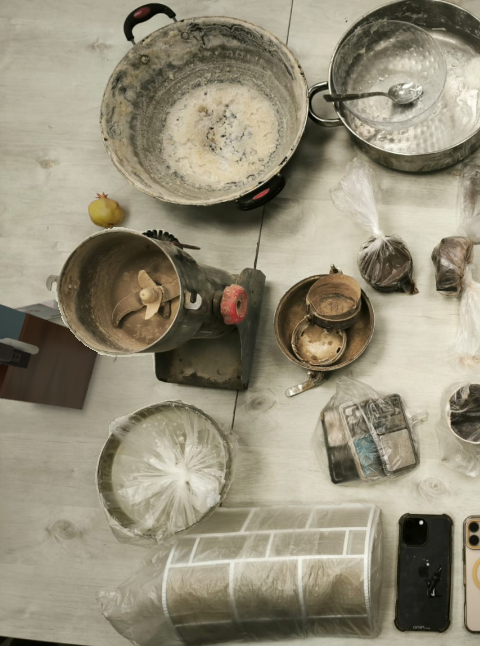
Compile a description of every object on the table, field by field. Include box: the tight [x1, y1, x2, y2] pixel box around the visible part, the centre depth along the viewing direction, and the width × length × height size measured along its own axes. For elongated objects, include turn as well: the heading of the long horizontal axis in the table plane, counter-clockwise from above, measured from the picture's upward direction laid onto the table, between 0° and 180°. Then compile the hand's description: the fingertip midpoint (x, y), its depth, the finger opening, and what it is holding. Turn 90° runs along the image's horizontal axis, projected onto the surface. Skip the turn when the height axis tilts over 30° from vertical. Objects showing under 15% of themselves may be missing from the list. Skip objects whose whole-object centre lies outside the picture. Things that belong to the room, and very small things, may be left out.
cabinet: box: [0, 312, 99, 410], centre depth 105 cm, size 10×16×34 cm, turn 173°
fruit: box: [87, 191, 124, 230], centre depth 126 cm, size 7×7×10 cm
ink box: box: [14, 299, 63, 320], centre depth 119 cm, size 2×11×10 cm, turn 104°
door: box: [0, 303, 39, 354], centre depth 95 cm, size 6×8×9 cm
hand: (24, 360), depth 94 cm, fingers closed
